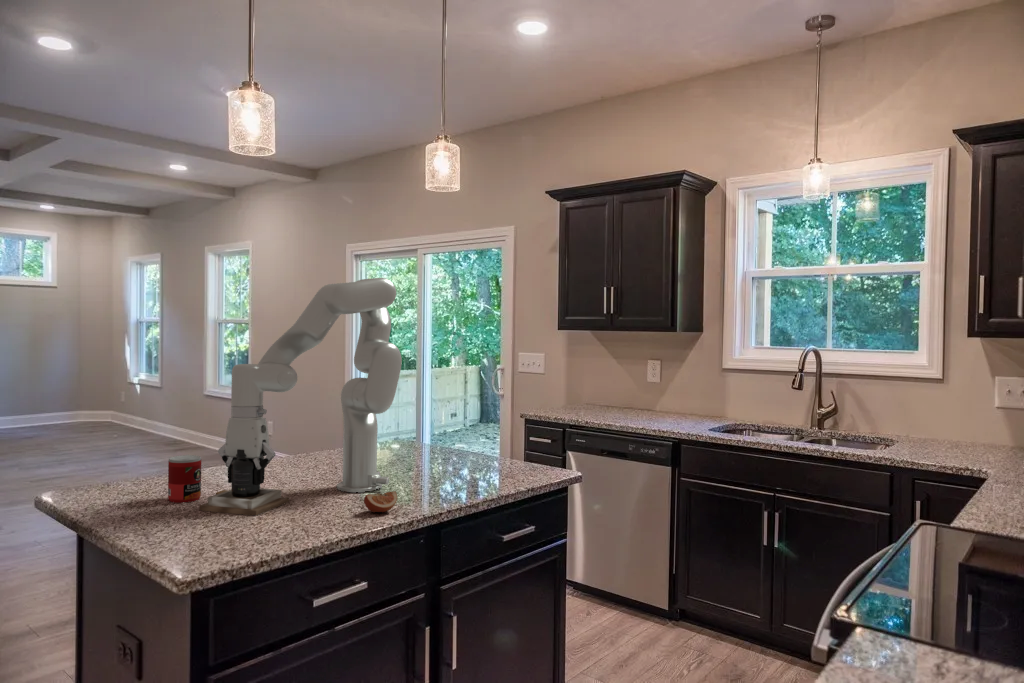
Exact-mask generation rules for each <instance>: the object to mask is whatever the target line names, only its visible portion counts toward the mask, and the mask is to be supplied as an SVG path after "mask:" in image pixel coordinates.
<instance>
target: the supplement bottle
mask: <svg viewBox="0 0 1024 683" xmlns="http://www.w3.org/2000/svg"><path fill="white" fill-rule="evenodd" d="M236 456H237V458H236V459H234V460H233V461H232V479H231V483H230V484H231V486H230V487H231V488H230V490H232V496H233V497H237V498H247V497H253V496H257V495H258V494H259V493H260V488H261V484H259V485H255V484H254V470H255V469H257V468H256V465H255V463H254V461H253V459H250V458H246V457H247V456H246V454H245V453H244V450H240V449H237V454H236Z"/></svg>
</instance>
